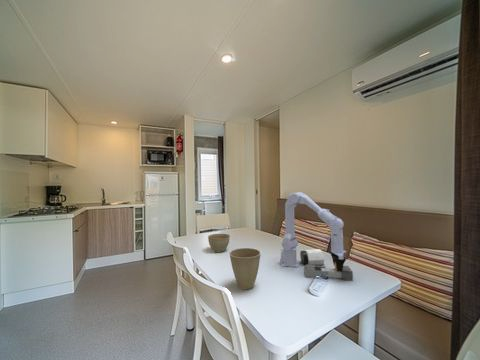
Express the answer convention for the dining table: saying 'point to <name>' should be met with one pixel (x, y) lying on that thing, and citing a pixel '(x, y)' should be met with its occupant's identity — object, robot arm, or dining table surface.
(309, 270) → the sleeve
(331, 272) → the slab with tan knob
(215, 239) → the planter bowl
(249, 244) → the dining table surface
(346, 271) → the dark gray rectangular block
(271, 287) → the dining table surface
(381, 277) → the dining table surface
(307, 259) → the jar
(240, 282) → the plant pot
